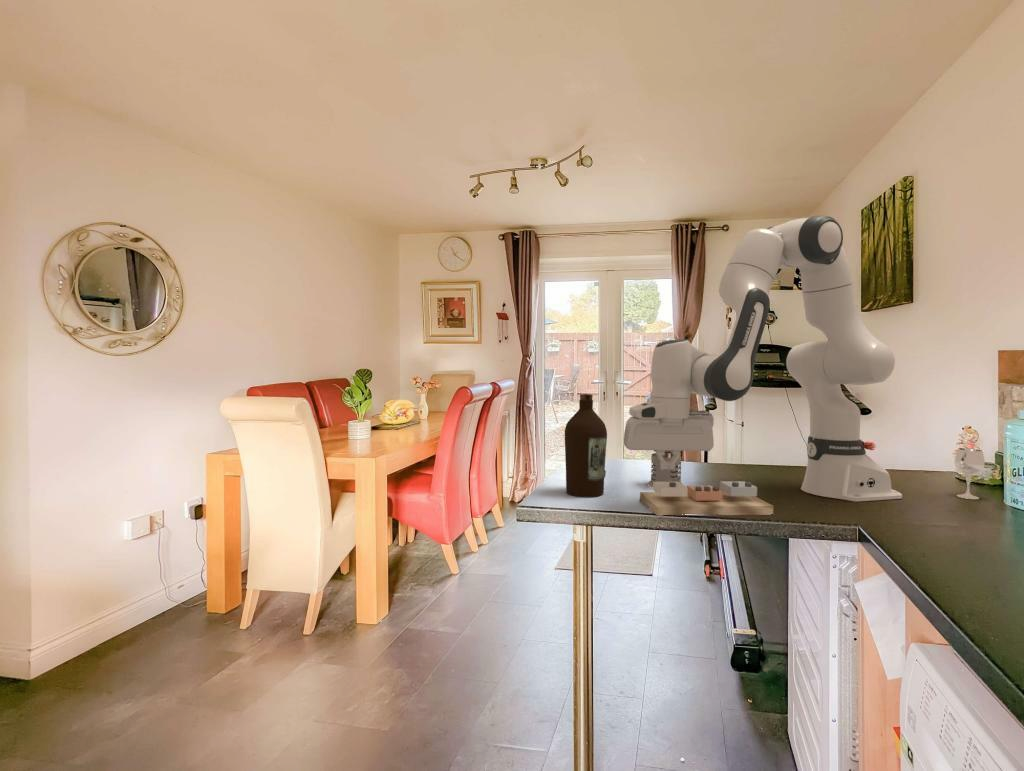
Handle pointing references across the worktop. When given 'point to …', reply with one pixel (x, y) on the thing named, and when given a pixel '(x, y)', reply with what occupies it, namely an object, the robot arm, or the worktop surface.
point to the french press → (664, 474)
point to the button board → (706, 505)
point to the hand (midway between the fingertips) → (667, 469)
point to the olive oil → (585, 451)
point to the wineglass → (969, 466)
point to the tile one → (670, 489)
